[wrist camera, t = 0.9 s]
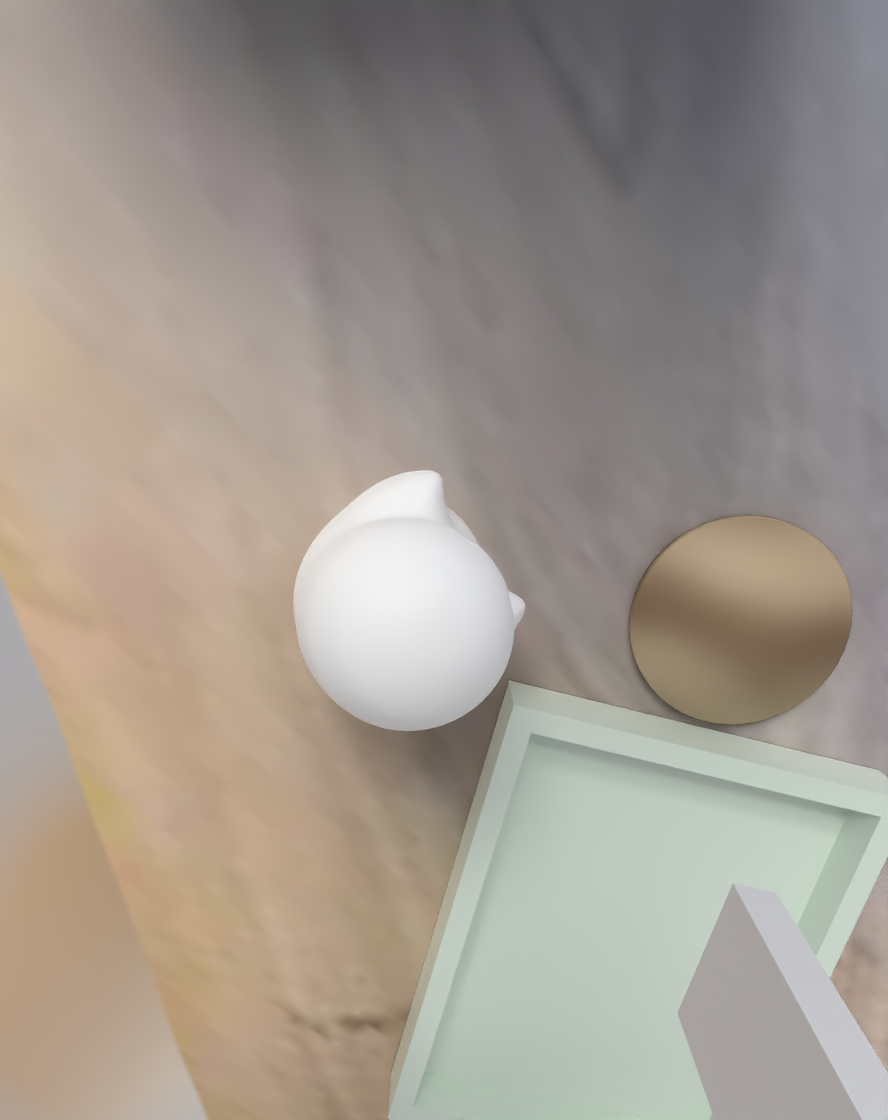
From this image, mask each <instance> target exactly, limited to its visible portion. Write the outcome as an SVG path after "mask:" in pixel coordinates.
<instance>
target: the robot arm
mask: <svg viewBox="0 0 888 1120" xmlns="http://www.w3.org/2000/svg"><path fill="white" fill-rule="evenodd" d="M678 1016H679V1019H680V1022H681V1025H682V1028H683V1031H684V1033H685V1036H686V1039H687V1042H688V1045H689V1048H690V1051H691V1054H692V1056H693V1059H694V1062H695V1065H696V1068H697V1071H698V1074H699V1077H700V1079H701V1082H702V1085H703V1088H704V1091H705V1094H706V1097H707V1100H708V1102H709V1105H710V1108H711V1111H712V1114H713V1117H714V1120H888V1072H887V1071H886V1069H885V1068H884V1066H883V1064H882V1063H881V1061H880V1059H879V1058H878V1056H877V1055H876V1053H875V1051H874V1050H873V1048H872V1047H871V1045H870V1043H869V1042H868V1040H867V1038H866V1037H865V1035H864V1034H863V1032H862V1030H861V1029H860V1027H859V1025H858V1024H857V1022H856V1021H855V1019H854V1017H853V1016H852V1014H851V1013H850V1011H849V1009H848V1008H847V1006H846V1004H845V1003H844V1001H843V1000H842V998H841V996H840V995H839V993H838V992H837V990H836V988H835V987H834V985H833V983H832V982H831V980H830V979H829V977H828V975H827V974H826V972H825V971H824V969H823V967H822V966H821V964H820V962H819V961H818V959H817V958H816V956H815V954H814V953H813V951H812V950H811V948H810V946H809V945H808V943H807V941H806V940H805V938H804V937H803V935H802V933H801V932H800V930H799V929H798V927H797V925H796V924H795V922H794V920H793V919H792V917H791V916H790V914H789V912H788V911H787V909H786V908H785V906H784V904H783V903H782V901H781V899H780V898H779V896H778V895H777V893H773V892H769V891H764V890H760V889H756V888H752V887H747V886H743V885H739V884H735V883H733V884H732V886H731V889H730V891H729V893H728V896H727V898H726V900H725V903H724V905H723V907H722V910H721V912H720V914H719V917H718V919H717V921H716V924H715V926H714V928H713V931H712V933H711V935H710V938H709V940H708V942H707V945H706V947H705V949H704V952H703V954H702V956H701V959H700V961H699V963H698V966H697V968H696V971H695V973H694V975H693V978H692V980H691V982H690V985H689V987H688V989H687V992H686V994H685V996H684V999H683V1001H682V1003H681V1006H680V1008H679V1010H678Z"/></svg>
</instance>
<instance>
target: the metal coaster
mask: <svg viewBox="0 0 888 1120" xmlns="http://www.w3.org/2000/svg"><path fill="white" fill-rule="evenodd" d="M851 623H852V600H851V593H850V589H849V584H848V582H847V579H846V576H845V574H844V571H843V570H842V568H841V566H840V564H839V563H838V561H837V559H836V558H835V557H834V555H833V554H832V553H831V552H830V550H829V549H828V548H827V547H826V546H825V545H824V544H822V543H821V542H820V541H819V540H818V539H817V538H815V537H814V536H812V535H811V534H809V533H808V532H806V531H804V530H802V529H800V528H798V527H796V526H794V525H792V524H789V523H787V522H784V521H781V520H778V519H774V518H769V517H764V516H751V515H743V516H731V517H726V518H721V519H717V520H714V521H711V522H708V523H705V524H702V525H700V526H698V527H696V528H694V529H692V530H689V531H688V532H686V533H685V534H683V535H682V536H680V537H678V538H677V539H676V540H674V541H673V542H672V543H671V544H669V545H668V546H667V547H666V548H665V549H664V550H663V551H662V552H661V553H660V554H659V555H658V556H657V557H656V558H655V559H654V561H653V562H652V563H651V565H650V566H649V567H648V569H647V570H646V572H645V574H644V575H643V577H642V579H641V581H640V582H639V585H638V587H637V590H636V592H635V594H634V598H633V602H632V605H631V610H630V618H629V636H630V643H631V648H632V652H633V655H634V658H635V661H636V663H637V665H638V667H639V669H640V671H641V673H642V675H643V676H644V678H645V679H646V681H647V682H648V684H649V685H650V687H651V688H652V689H653V690H654V691H655V692H656V693H657V695H658V696H659V697H660V698H662V699H663V700H664V701H665V702H666V703H668V704H669V705H670V706H672V707H673V708H675V709H677V710H678V711H680V712H682V713H684V714H686V715H688V716H690V717H693V718H696V719H699V720H702V721H706V722H712V723H717V724H745V723H751V722H757V721H761V720H764V719H768V718H771V717H774V716H776V715H779V714H781V713H783V712H786V711H787V710H789V709H791V708H793V707H794V706H796V705H798V704H799V703H801V702H802V701H804V700H805V699H806V698H808V697H809V696H810V695H811V694H812V693H814V692H815V691H816V690H817V689H818V688H819V687H820V686H821V685H822V684H823V683H824V681H825V680H826V679H827V678H828V677H829V676H830V674H831V673H832V671H833V670H834V668H835V667H836V665H837V664H838V662H839V660H840V658H841V656H842V654H843V652H844V649H845V647H846V644H847V641H848V638H849V633H850V629H851Z"/></svg>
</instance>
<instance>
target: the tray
mask: <svg viewBox="0 0 888 1120" xmlns="http://www.w3.org/2000/svg"><path fill="white" fill-rule="evenodd" d="M887 857H888V778H887V777H886V776H885V775H884V774H883V773H882V772H881V771H880V770H876V769H872V768H867V767H863V766H859V765H855V764H851V763H847V762H843V761H839V760H835V759H830V758H826V757H822V756H818V755H814V754H810V753H806V752H802V751H798V750H794V749H789V748H785V747H781V746H777V745H773V744H769V743H765V742H761V741H757V740H752V739H748V738H744V737H740V736H736V735H732V734H728V733H724V732H720V731H715V730H711V729H707V728H703V727H699V726H695V725H691V724H687V723H683V722H678V721H674V720H670V719H666V718H662V717H658V716H654V715H650V714H646V713H641V712H637V711H633V710H629V709H625V708H621V707H617V706H613V705H609V704H605V703H600V702H596V701H592V700H588V699H584V698H580V697H576V696H572V695H568V694H563V693H559V692H555V691H551V690H547V689H543V688H539V687H535V686H531V685H526V684H522V683H518V682H514V681H510V680H509V683H508V686H507V689H506V693H505V696H504V699H503V702H502V706H501V709H500V712H499V716H498V719H497V722H496V726H495V729H494V732H493V736H492V739H491V742H490V746H489V749H488V752H487V756H486V759H485V762H484V766H483V769H482V772H481V776H480V779H479V782H478V786H477V789H476V792H475V796H474V799H473V802H472V806H471V809H470V812H469V815H468V819H467V822H466V825H465V829H464V832H463V835H462V839H461V842H460V845H459V849H458V852H457V855H456V859H455V862H454V865H453V869H452V872H451V875H450V879H449V882H448V885H447V889H446V892H445V895H444V899H443V902H442V905H441V909H440V912H439V915H438V919H437V922H436V925H435V929H434V932H433V935H432V938H431V942H430V945H429V948H428V952H427V955H426V958H425V962H424V965H423V968H422V972H421V975H420V978H419V982H418V985H417V988H416V992H415V995H414V998H413V1002H412V1005H411V1008H410V1012H409V1015H408V1018H407V1022H406V1025H405V1028H404V1032H403V1035H402V1038H401V1042H400V1045H399V1048H398V1051H397V1055H396V1058H395V1061H394V1065H393V1068H392V1072H391V1084H390V1095H389V1106H388V1118H387V1119H390V1120H714V1117H713V1114H712V1111H711V1108H710V1105H709V1102H708V1100H707V1097H706V1094H705V1091H704V1088H703V1085H702V1082H701V1079H700V1077H699V1074H698V1071H697V1068H696V1065H695V1062H694V1059H693V1056H692V1054H691V1051H690V1048H689V1045H688V1042H687V1039H686V1036H685V1033H684V1031H683V1028H682V1025H681V1022H680V1019H679V1016H678V1010H679V1008H680V1006H681V1003H682V1001H683V999H684V996H685V994H686V992H687V989H688V987H689V985H690V982H691V980H692V978H693V975H694V973H695V971H696V968H697V966H698V963H699V961H700V959H701V956H702V954H703V952H704V949H705V947H706V945H707V942H708V940H709V938H710V935H711V933H712V931H713V928H714V926H715V924H716V921H717V919H718V917H719V914H720V912H721V910H722V907H723V905H724V903H725V900H726V898H727V896H728V893H729V891H730V889H731V886H732V884H733V883H735V884H739V885H743V886H747V887H752V888H756V889H760V890H764V891H769V892H773V893H777V895H778V896H779V898H780V899H781V901H782V903H783V904H784V906H785V908H786V909H787V911H788V912H789V914H790V916H791V917H792V919H793V920H794V922H795V924H796V925H797V927H798V929H799V930H800V932H801V933H802V935H803V937H804V938H805V940H806V941H807V943H808V945H809V946H810V948H811V950H812V951H813V953H814V954H815V956H816V958H817V959H818V961H819V962H820V964H821V966H822V967H823V969H824V971H825V972H826V974H827V975H828V977H829V979H830V977H831V975H832V972H833V970H834V968H835V966H836V964H837V962H838V960H839V958H840V956H841V954H842V951H843V949H844V947H845V945H846V943H847V941H848V939H849V937H850V935H851V933H852V930H853V928H854V926H855V924H856V922H857V920H858V918H859V916H860V914H861V911H862V909H863V907H864V905H865V903H866V901H867V899H868V897H869V895H870V893H871V890H872V888H873V886H874V884H875V882H876V880H877V878H878V876H879V874H880V872H881V869H882V867H883V865H884V863H885V861H886V859H887Z"/></svg>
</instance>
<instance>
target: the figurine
mask: <svg viewBox="0 0 888 1120" xmlns="http://www.w3.org/2000/svg"><path fill="white" fill-rule="evenodd" d="M293 609H294V618H295V624H296V631H297V638H298V642H299V646H300V650H301V653H302V656H303V658H304V661H305V663H306V665H307V667H308V669H309V671H310V672H311V674H312V676H313V677H314V679H315V680H316V682H317V683H318V684H319V686H320V687H321V688H322V689H323V690H324V692H325V693H326V694H327V695H328V696H329V697H330V698H331V699H332V700H333V701H334V702H335V703H336V704H338V705H339V706H340V707H341V708H342V709H344V710H345V711H347V712H348V713H350V714H351V715H353V716H354V717H356V718H358V719H360V720H362V721H364V722H366V723H369V724H372V725H374V726H377V727H381V728H385V729H390V730H398V731H417V730H425V729H430V728H434V727H438V726H441V725H444V724H447V723H449V722H452V721H454V720H456V719H458V718H460V717H462V716H463V715H465V714H467V713H468V712H470V711H471V710H472V709H474V708H475V707H476V706H477V705H479V704H480V703H481V702H482V701H483V700H484V699H485V698H486V697H487V696H488V695H489V694H490V693H491V691H492V690H493V689H494V688H495V686H496V685H497V683H498V682H499V680H500V679H501V677H502V675H503V673H504V671H505V669H506V667H507V664H508V662H509V659H510V655H511V652H512V647H513V641H514V629H515V628H516V627H517V625H518V624H519V623H520V621H521V619H522V617H523V615H524V612H525V603H524V601H523V600H522V599H521V598H520V597H518V596H517V595H515V594H513V593H512V592H510V591H508V588H507V585H506V582H505V580H504V578H503V576H502V574H501V572H500V571H499V569H498V567H497V566H496V565H495V563H494V562H493V560H492V559H491V558H490V557H489V555H488V554H487V553H486V552H485V551H484V550H483V549H482V548H481V547H479V545H478V542H477V540H476V539H475V537H474V535H473V534H472V532H471V531H470V529H469V528H468V526H467V525H466V524H465V523H464V522H463V520H462V519H461V518H460V517H459V516H458V515H457V514H455V513H454V512H453V511H452V510H451V509H450V508H448V507H447V506H446V505H445V499H444V486H443V480H442V477H441V476H440V475H439V474H438V473H437V472H435V471H430V470H421V471H412V472H406V473H402V474H398V475H395V476H392V477H389V478H387V479H385V480H383V481H381V482H379V483H377V484H375V485H374V486H372V487H371V488H369V489H368V490H366V491H365V492H364V493H362V494H361V495H360V496H358V497H357V498H356V499H355V500H354V501H352V502H351V503H350V504H349V505H348V506H347V507H345V508H344V509H343V510H342V511H341V512H340V513H339V514H337V515H336V516H335V517H334V518H333V519H332V520H331V521H330V522H329V523H328V524H327V525H326V526H325V527H324V528H323V529H322V531H321V532H320V533H319V534H318V536H317V537H316V538H315V540H314V541H313V543H312V544H311V546H310V547H309V549H308V551H307V553H306V554H305V556H304V558H303V561H302V563H301V565H300V568H299V571H298V574H297V578H296V582H295V588H294V597H293Z"/></svg>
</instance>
